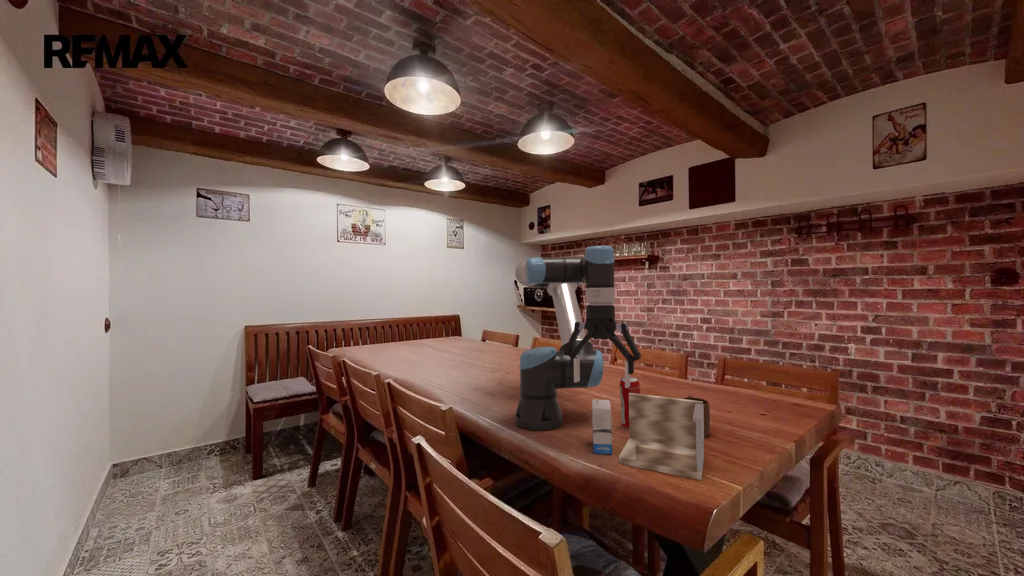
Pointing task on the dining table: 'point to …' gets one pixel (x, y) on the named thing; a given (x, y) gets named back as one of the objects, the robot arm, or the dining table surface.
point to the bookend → (699, 435)
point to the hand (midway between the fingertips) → (601, 384)
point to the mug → (706, 414)
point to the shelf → (662, 435)
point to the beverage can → (627, 398)
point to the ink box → (601, 426)
